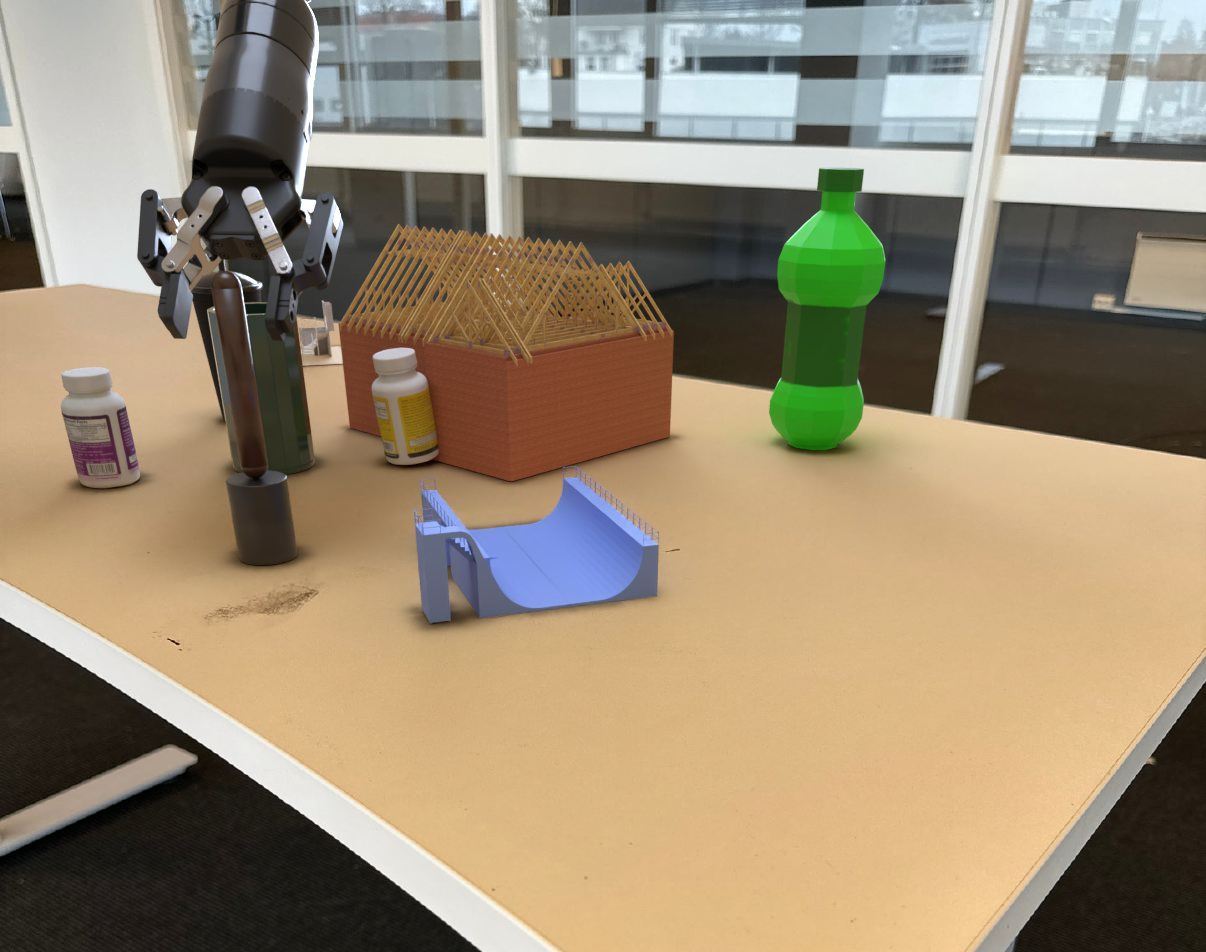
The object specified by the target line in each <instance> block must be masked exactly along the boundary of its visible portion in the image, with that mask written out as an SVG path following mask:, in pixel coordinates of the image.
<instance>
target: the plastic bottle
mask: <svg viewBox="0 0 1206 952" xmlns="http://www.w3.org/2000/svg"><path fill="white" fill-rule="evenodd" d="M864 174H865V168H857V167H818V174H817V175H818V176H817V185H816V191H819V192H822V193H821V203H820V209H819V211H817V212H816V213H815V214H814V215H813V216H811V218H810V219H808V220H807V221H806V222H805V223H804V224H803V225H802V226H801V227H800V228H799V229H798V230H797V231H796V232H794V234H793V235H792V236H790V238H789V239H788V240H787V241H786V242H785V243H784V245H783V247H782V250H781V252H780V254H779V257H778V258H777V259H778V260H777V272H776V275H777V276H776V277H777V284H778V291H779V292H780V293H781V295H782V296H783V298H784V299H785V301H786V302H787V309H786V322H785V331H784V341H783V352H782V353H783V354H782V364H781V365H782V366H781V375H780V378H779V380H778V382H777V383H776V385H775V388H774V390H773V393H772V395H771V397H770V400H769V410H768V414H769V418H770V421H771V424H772V426H773V427H774V429H775V430H776V432H777V433H778V434H779V435H780V436H781V437H782V438H783V440H786V441H787V445H789V446H791V447H793V448H795V449H801V450H807V451H828V450H832V449H835V448H837V447H838V444H841V443H843V442H844V441H845V440H847V438H849V437H850V436H851V435H852V434H853V433H855V431H856V430H857V428H858V427H859V424H860V423H861V421H862V418H863V413H864V403H865V397H864V394H863V389H862V385H861V382H860V380H859V370H860V362H861V354H862V346H863V339H864V330H865V321H866V313H867V306H868V305H869V304H870V302H872V300H874V299H875V297H877V295H878V294H879V293H880V290H881V286H882V284H883V280H884V275H885V270H886V269H885V268H886V255H885V251H884V246H883V243H882V242H881V241H880V239H879V238H878V237H877V235H876V234H875V233H874V231H872V229H871V228H870V227H869V224H867V223H866V221H864V219H863V218H861V216H860V215H859V214H858V213H857V212H856V211H855V204H856V196H857V195H856V194H857V193H860V192H862V190H863V183H864Z"/></svg>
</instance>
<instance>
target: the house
mask: <svg viewBox="0 0 1206 952" xmlns="http://www.w3.org/2000/svg"><path fill="white" fill-rule="evenodd" d="M399 233H400V236H399V237H398V239H397V241H396V243H394V241H395V240H396V238H397V236H398V234H399ZM443 238H444V239H443ZM404 240H406V241H405V242H404V244H403V246H402V248H401V249H400V250H399V248H400V246H401V245H402V243H403V241H404ZM476 241H477V242H478V243H477V242H476ZM393 243H394V245H393ZM448 244H449V245H448ZM392 245H393V247H392ZM509 245H510V246H511V247H510V246H509ZM409 246H411V248H410V249H408V248H409ZM519 246H520V247H521V248H520V247H519ZM391 247H392V248H391ZM489 247H490V248H489ZM390 248H391V251H389V250H390ZM529 248H530V249H529ZM538 248H540V250H541V251H539V249H538ZM549 249H550V251H551V253H550V252H549ZM559 250H560V251H561V253H562V254H560V252H559ZM570 251H571V253H572V255H571V254H570V253H569V252H570ZM470 252H471V253H470ZM494 253H495V254H494ZM515 253H516V254H517V255H516V254H515ZM581 253H582V254H583V256H584V257H585V259H586V260H587V262H588V263H589V264H590V267H591V268H589V266H588V265H587V263H586V262H585V261H584V258H583V257H582V256H581ZM525 254H526V255H525ZM386 255H388V256H387V257H386ZM395 256H396V258H395V259H394V261H393V263H392V264H391V266H390V268H389V270H388V271H387V273H386V275H385V276H384V278H383V279H382V277H383V275H384V273H385V272H386V270H387V268H388V266H389V265H390V263H391V261H392V260H393V258H394V257H395ZM526 256H527V257H526ZM535 256H536V257H537V258H536V257H535ZM385 257H386V259H385V261H384V263H383V264H382V262H383V259H384V258H385ZM404 257H405V258H404ZM544 257H546V258H547V260H546V259H545V258H544ZM402 258H404V259H403V261H402V263H401V265H400V266H399V268H398V269H397V271H396V273H395V275H394V276H393V278H392V280H391V282H390V284H389V285H388V286H387V284H388V282H389V280H390V279H391V277H392V275H393V273H394V272H395V270H396V268H397V267H398V265H399V263H400V261H401V260H402ZM412 258H413V259H412ZM555 258H556V259H557V262H556V260H555ZM411 259H412V262H411V263H410V265H409V267H408V269H407V270H406V272H405V274H404V275H403V277H402V279H401V280H400V282H399V284H398V286H397V287H396V289H395V290H394V292H393V289H394V287H395V285H396V284H397V282H398V280H399V279H400V277H401V275H402V274H403V272H404V271H405V268H406V267H407V265H408V263H409V261H410V260H411ZM421 259H422V260H421ZM420 260H421V262H420V264H419V266H418V268H417V269H416V270H415V273H414V274H413V276H412V278H411V279H410V281H409V282H408V279H409V278H410V276H411V274H412V272H413V271H414V269H415V267H416V265H417V264H418V262H419V261H420ZM565 260H567V261H568V263H567V262H566V261H565ZM576 260H577V262H578V263H579V265H580V266H581V267H582V268H581V269H580V268H579V266H578V264H577V263H576ZM521 261H522V262H521ZM531 262H532V263H531ZM381 264H382V266H381V268H380V270H379V271H378V273H377V274H376V271H377V270H378V268H379V266H380V265H381ZM426 265H427V266H428V267H427V269H426V270H425V272H424V274H423V275H422V277H421V279H420V280H419V282H418V284H417V285H416V287H415V289H414V291H413V292H412V294H411V296H410V292H411V290H412V289H413V287H414V285H415V283H416V282H417V280H418V278H419V276H420V275H421V273H422V272H423V270H424V268H425V266H426ZM476 270H477V271H476ZM484 270H485V271H484ZM630 271H631V273H632V275H633V277H634V278H635V280H636V281H637V282H638V284H639V286H640V288H641V289H642V291H643V293H644V294H643V295H641V293H640V291H639V290H638V289H637V287H636V285H635V284H634V282H633V280H632V278H631V277H630ZM431 273H433V275H432V277H431V278H430V280H429V281H428V283H427V285H426V287H425V289H424V290H423V292H422V294H421V295H420V297H419V293H420V291H421V289H422V288H423V286H424V285H425V283H426V282H427V279H428V277H429V276H430V274H431ZM538 273H539V274H538ZM375 274H376V276H375ZM374 276H375V278H374V279H373V277H374ZM558 276H559V277H558ZM622 276H624V277H625V280H626V285H625V283H624V282H623V279H622ZM533 277H534V278H535V279H534V278H533ZM597 277H598V279H597ZM613 277H614V279H613ZM588 278H589V279H588ZM372 279H373V281H372V283H371V285H370V287H369V288H368V285H369V284H370V282H371V280H372ZM381 279H382V282H381V283H380V285H379V286H378V288H377V290H376V287H377V285H378V283H379V282H380V280H381ZM543 279H544V280H545V282H544V281H543ZM553 281H554V282H553ZM407 282H408V285H407V286H406V288H405V290H404V292H403V293H402V294H401V291H402V289H403V288H404V286H405V284H406V283H407ZM554 283H555V284H554ZM563 283H564V284H565V285H566V287H567V289H566V288H565V286H564V285H563ZM616 283H617V285H616ZM441 284H443V287H442V285H441ZM539 285H540V287H539ZM582 285H583V286H582ZM386 286H387V288H386V290H385V287H386ZM574 286H575V287H576V288H575V287H574ZM630 287H631V288H632V290H633V292H634V294H635V295H634V296H632V294H631V293H630ZM541 288H542V289H541ZM621 288H622V290H623V292H624V294H625V295H626V296H625V298H624V297H623V295H622V294H621ZM550 289H551V290H552V291H551V290H550ZM604 289H605V291H604ZM384 290H385V291H384ZM559 290H560V291H561V292H562V293H561V292H560V291H559ZM587 290H588V292H586V291H587ZM596 290H597V291H596ZM437 291H438V295H437V297H436V299H435V300H434V296H435V294H436V293H437ZM578 291H579V292H578ZM363 294H364V296H363V298H362V300H361V302H360V304H359V305H358V306H357V304H358V303H359V301H360V299H361V297H362V295H363ZM372 294H373V295H372ZM445 294H446V295H447V296H446V299H445V300H444V302H443V297H444V296H445ZM371 295H372V296H373V297H372V298H371V300H370V302H369V299H370V297H371ZM380 295H381V298H380V300H379V302H377V301H378V299H379V297H380ZM563 295H564V296H563ZM582 297H583V299H582ZM388 298H389V301H388V302H387V304H386V301H387V299H388ZM397 298H398V301H397V303H396V305H395V307H394V303H395V301H396V299H397ZM637 298H638V302H636V300H637ZM645 298H647V299H648V300H649V302H650V304H651V306H652V307H653V309H654V310H655V312H656V313H657V315H658V317H659V319H660V320H661V321H658V320H657V319H656V318H655V316H654V314H653V313H652V311H651V310H650V308H649V306H648V304H647V303H646V302H645ZM520 299H521V300H522V301H521V300H520ZM405 301H407V302H406V304H405V306H404V307H403V304H404V303H405ZM414 301H415V305H414V306H412V305H413V303H414ZM559 301H560V302H559ZM509 302H510V303H509ZM561 304H562V305H563V307H564V308H563V307H562V305H561ZM365 305H366V309H365V310H364V312H362V311H363V309H364V308H365ZM640 305H642V306H643V309H644V310H645V311H646V312H647V315H648V316H649V318H650V319H651V320H647V318H646V317H645V315H644V314H643V312H642V311H641V309H640V307H639V306H640ZM356 306H357V309H356V310H355V312H354V313H353V314H352V312H353V310H354V309H355V308H356ZM631 306H633V309H632V310H631V308H630V307H631ZM373 307H374V310H373ZM526 307H527V308H528V309H527V308H526ZM598 307H599V308H598ZM381 309H382V310H381ZM581 309H582V310H581ZM372 310H373V311H372ZM361 312H362V313H361ZM635 312H637V315H639V317H640V318H636V317H635V315H634V313H635ZM560 314H561V316H560ZM612 314H613V315H612ZM338 333H339V340H340V341H339V342H340V346H341V352H342V361H343V364H342V369H343V378H344V387H345V396H346V407H347V413H348V414H347V415H348V423H349V428H350V429H353V430H356V431H360V432H364V433H368V434H371V435H375V436H378V437H381V434H380V429H379V424H378V419H377V414H376V409H375V404H374V400H373V395H372V384H373V382H374V381H375V380H376V379H377V378H378V377H379V375H378V373H376V372H375V368H374V362H373V355H374V354H376V353H378V352H380V351H383V350H388V349H394V348H411V349H413V350H414V351H415V354H416V359H417V367H416V368H415V369H416V372H419V373H421V374H423V375H424V376H425V377H426V379H427V381H428V385H429V391H430V396H431V402H432V409H433V415H434V421H435V428H436V435H437V442H438V450H439V453H438V455H437V456H436V457H435V458H433V459H432V460H433V461H436V462H440V463H444V464H447V465H450V466H455V467H457V468H461V469H464V470H469V471H472V472H475V473H479V474H483V475H486V476H489V477H493V478H498V479H501V480H504V481H507V482H514V481H518V480H522V479H525V478H528V477H529V478H530V477H532V476H536V475H539V474H543V473H546V472H549V471H553V470H557V469H560V468H563V467H569V466H572V465H574V464H578V463H581V462H585V461H589V460H593V459H596V458H599V457H603V456H606V455H610V454H614V453H618V452H620V451H624V450H628V449H631V448H635V447H638V446H642V445H645V444H648V443H652V442H656V441H660V440H664V439H666V438H670V437H671V417H672V396H673V395H672V392H673V368H674V367H673V365H674V364H673V363H674V341H675V340H674V338H675V331H674V330H673V329H672V328H671V327H670V325H669V323H668V322H667V320H666V318H665V317H664V314H662V311H661V310H660V309H659V307H658V305H657V304H656V302H655V301H654V298H653V297H652V295H651V294H650V292H649V291H648V289H647V288H646V286H645V284H644V283H643V281H642V279H641V277H640V276H639V275H638V273H637V271H636V270H635V267H633V265H632V263H631V262H630V260H627V261H626V263H625V264H624V265H623V264H622V263H621V261H618V263H617V264H616V265H615V266H614V265H613V264H612V262H609V264H608V265H607V266H606V268H605V266H604V264H603V263H600V264H599V265H598V264H597V263H596V262H595V261H594V259H593V257H592V255H591V254H590V252H589V250H588V249H587V248H586V246H585V245H584V244H583V242H582V241H580V242H579V244H578V246H577V247H575V245H574V243H573V242H572V241H571V240H570V241H569V242H568V243H567V245H566V247H565V245H564V244H563V242H562V241H561V239H558V241H557V243H556V245H554V244H553V242H552V240H551V239H550V238H548V239H547V241H546V242H545V244H544V243H543V241H542V240H541V238H540V237H538V238H537V239H536V241H535V243H534V241H532V239H531V238H530V236H528V237H526V239H525V241H524V239H522V237H521V236H520V235H518V236H517V238H516V240H514V239H513V237H512V236H511V235H510V234H508V236H507V237H506V238H505V239H504V238H503V236H502V235H501V233H498V235H497V237H496V236H494V234H493V233H492V232H490V233H489V235H488V233H487V232H484V234H483V235H482V237H481V236H480V234H479V233H478V232H477V231H474V233H473V235H472V236H471V234H470V232H469V231H468V230H464V229H463V230H461V229H459V230H458V231H457V233H456V234H455V232H454V231H453V229H452V228H450V229H449V231H448V232H446V231H445V230H444V229H443V227H441V228H440V230H439V232H438V231H437V230H436V229H435V227H431V229H430V231H429V230H428V229H427V227H426V226H423V227H422V229H421V230H420V229H419V228H418V226H417V225H414V227H413V229H412V228H411V227H410V226H409V225H408V224H406V225H405V227H404V228H403V226H401V224H400V223H398V224H397V226H396V227H395V229H394V230H393V232H392V234H391V236H390V237H389V238H388V241H387V242H386V243H385V246H384V247H383V249H382V251H381V252H380V254H379V256H378V257H377V260H376V261H375V263H374V265H373V266H372V268H371V270H370V271H369V273H368V275H367V276H366V278H365V280H364V281H363V283H362V285H361V286H360V288H359V290H358V291H357V293H356V295H355V296H354V299H353V300H352V301H351V303H350V305H349V307H348V308H347V310H346V312H345V314H344V315H343V317H342V319H341V320H340V322H338Z"/></svg>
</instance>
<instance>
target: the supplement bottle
mask: <svg viewBox="0 0 1206 952" xmlns="http://www.w3.org/2000/svg"><path fill="white" fill-rule="evenodd" d="M373 362H374V368H375V372H376V373H378V375H379V377H378V378H377V379H376V380H375V381H374V382H373V384H372V395H373V400H374V404H375V409H376V414H377V419H378V424H379V429H380V434H381V436H380V438H381V442H382V449H383V453H384V456H385V459H386V461H387V462H389V463H391V464H392V465H397V466H398V465H399V466H409V465H416V464H422V463H426V462H429V461H431V460H433V458H435V457H436V456H437V455H438V453H439V450H438V442H437V435H436V428H435V421H434V415H433V409H432V402H431V396H430V391H429V385H428V381H427V379H426V377H425V376H424V375H423V374H421V373H419V372H416V369H415V368H416V367H417V359H416V354H415V351H414V350H413V349H411V348H394V349H388V350H383V351H380V352H378V353H376V354H374V355H373Z"/></svg>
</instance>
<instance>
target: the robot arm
mask: <svg viewBox="0 0 1206 952" xmlns="http://www.w3.org/2000/svg"><path fill="white" fill-rule="evenodd" d="M311 2H312V0H218V7H219V12H220V16H219V20H218V27H217V30H216V38H215V44H214V50H213V55H212V59H211V63H210V65H209V68H208V70H207V73H206V76H205V81H204V86H203V90H202V91H203V92H202V98H201V104H200V110H199V116H198V121H197V127H196V134H195V139H194V146H193V152H192V157H191V180H190V182H189V184H188V186H187V187H186V189H185V190H184V191H183V192H182V195H181V196H179V197H167V198H161V197H160V195H159V192H158V191H156V190H155V189H153V188H152V189H151V188H149V189H146V190H144V191H143V192H142V193H141V195H140V207H139V209H140V210H139V221H138V223H139V224H138V237H137V253H136V254H137V255H136V258H137V261H138V262H139V264H140V265H141V267H142V268H143V269H144V271H145V273H146V275H147V276H148V277H149V280H151V282H152V284H153V285H154V286H155V287H160V293H159V299H158V305H157V315H158V317H159V319H160V321H161V322H162V324H163V325H164V327H165V328H166V330H167V331H168V332H169V333H170V336H171V337H172V338H173V339H174V340H186V339H187V336H188V331H189V325H190V320H191V319H190V317H191V312H192V306H193V301H192V300H193V295H192V293H191V291H192V290H193V288H194V287H195V286H196V284H197V283H198V282H199V280H200V279H201V278H202V277H203V275H205V274H207V275H209V274H211V273H212V272H215V270H216V268H218V264H219V263H220V262H221V260H224V261H232V260H237V259H241V258H244V259H247V260H252V261H265V257H269V258H270V261H271V263H272V265H273V267H274V269H275V275H270V278H269V285H268V292H267V300H266V302H267V306H266V313H265V326H266V329H267V331H268V332H269V334H270V336H271V338H272V340H273V341H285V337H286V333H291V332H292V330H293V329H294V327H295V319H296V317H297V311H298V306H299V305H298V304H299V297H300V296H301V295H302V294H303V292H304V291H305V290H307V289H310V288H314V289H315V290H317V291H323V290H326V289H327V288H328V287H329V286H330V281H331V277H332V273H333V270H334V264H335V261H336V256H337V252H338V247H339V244H340V240H341V236H342V232H343V228H344V222H343V219H342V216H341V213H340V210H339V207H338V205H337V203H336V200H335V197H334V195H333V194H332V193H331V192H329V191H323V192H321V193H319V194H318V195H317V197H316V199H307V198H302V197H303V191H304V187H305V186H304V185H305V178H306V171H307V163H308V156H309V149H310V143H311V141H312V139H313V118H314V117H313V116H314V103H313V100H314V99H313V94H314V93H313V92H314V87H315V78H316V72H317V63H318V56H319V40H320V39H319V37H320V36H319V29H318V23H317V20H316V17H315V14H314V12H313V10H312V8H311V7H310V5H309V4H310V3H311ZM184 219H187V220H186V221H185V222H184V223H183V224H182V226H181V227H180V228H179V225H180V222H181V221H182V220H184ZM304 221H305V223H306V225H307V227H308V232H307V236H306V238H305V239H306V240H305V242H304V243H305V244H304V248H303V252H302V256H301V258H299V259H295V260H291V258H290V255H289V253H288V252H287V249H286V247H285V244H284V243H285V241H287V240H288V239H289V237H291V236H292V234H294V233H295V232H296V230H297V229H299V228H300V226H301V225H302V224H303V223H304ZM178 228H179V230H178ZM173 236H175V237H176V242H175V244H174V246H172V237H173ZM201 241H202V242H203V243H204V245H205V246H206V247H205V248H203V246H202V244H201Z"/></svg>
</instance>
